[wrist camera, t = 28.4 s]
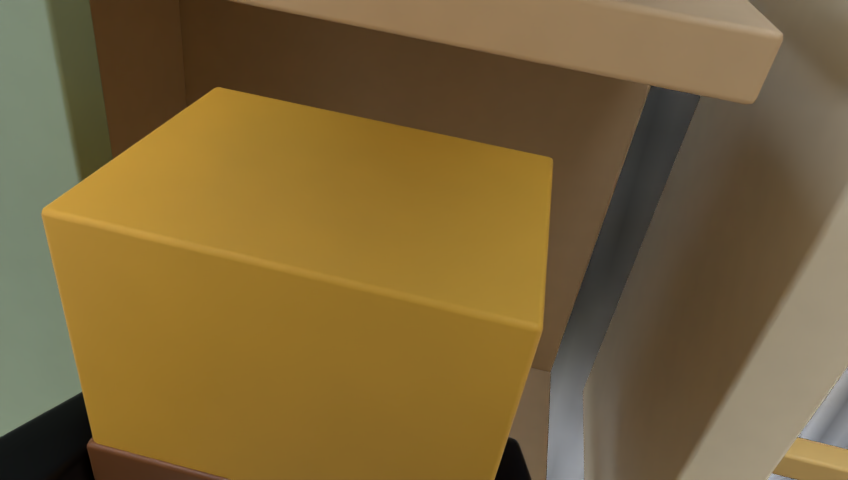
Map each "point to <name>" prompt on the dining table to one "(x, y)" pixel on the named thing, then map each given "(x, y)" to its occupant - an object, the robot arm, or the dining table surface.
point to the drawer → (591, 185)
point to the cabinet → (41, 189)
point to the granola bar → (302, 296)
